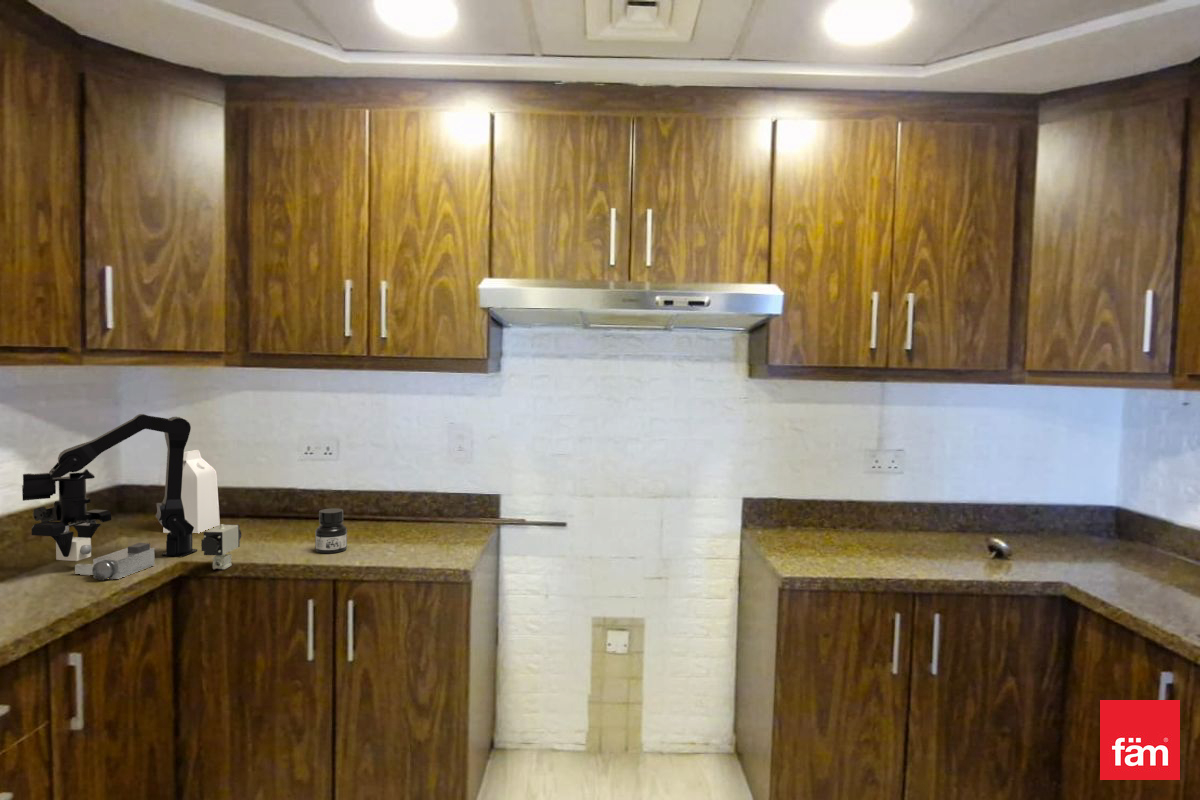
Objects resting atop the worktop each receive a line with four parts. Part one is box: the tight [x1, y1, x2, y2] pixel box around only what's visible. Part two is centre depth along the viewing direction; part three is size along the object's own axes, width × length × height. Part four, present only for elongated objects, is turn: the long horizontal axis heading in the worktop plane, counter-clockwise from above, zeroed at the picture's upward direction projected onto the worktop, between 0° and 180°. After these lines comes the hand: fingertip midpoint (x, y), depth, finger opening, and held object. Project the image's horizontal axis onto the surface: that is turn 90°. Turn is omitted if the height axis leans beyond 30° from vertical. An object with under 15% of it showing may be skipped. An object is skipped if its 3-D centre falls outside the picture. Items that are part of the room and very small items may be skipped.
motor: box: [74, 542, 156, 581], centre depth 179 cm, size 14×14×6 cm
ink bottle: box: [314, 507, 348, 554], centre depth 204 cm, size 10×9×12 cm
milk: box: [162, 449, 221, 534], centre depth 226 cm, size 12×12×26 cm
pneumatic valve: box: [200, 523, 243, 571], centre depth 185 cm, size 6×12×12 cm, turn 179°
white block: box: [55, 536, 93, 562], centre depth 181 cm, size 4×7×5 cm, turn 83°
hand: (74, 554), depth 181 cm, fingers closed on white block, 4 cm apart
